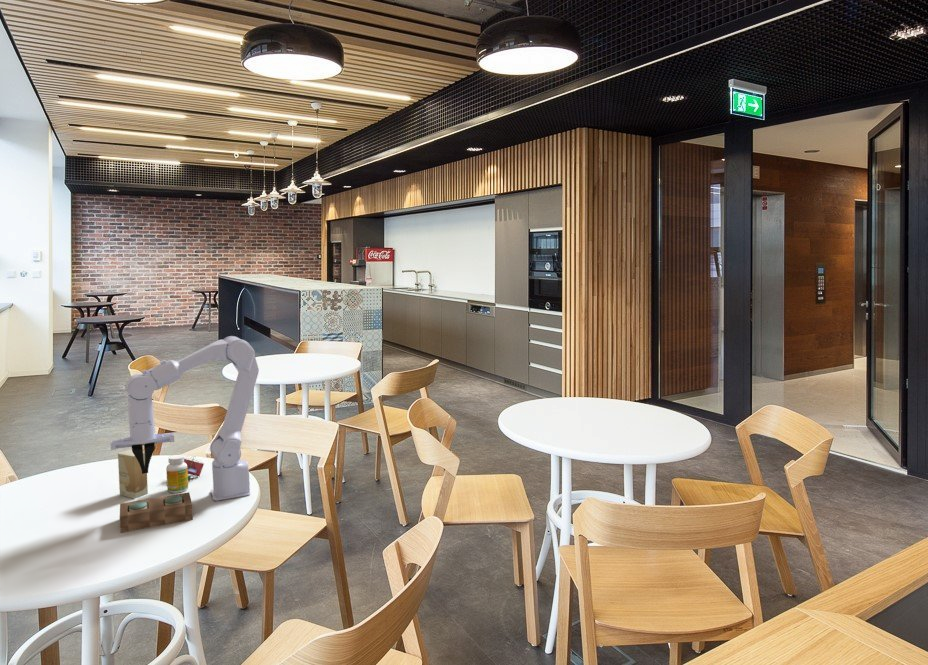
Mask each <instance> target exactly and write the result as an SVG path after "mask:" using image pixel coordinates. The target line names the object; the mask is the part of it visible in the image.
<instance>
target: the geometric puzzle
mask: <svg viewBox="0 0 928 665" xmlns="http://www.w3.org/2000/svg"><path fill="white" fill-rule="evenodd" d="M188 457H189V456H186V458H184V462H185V463H186V464H187V471H188V475H190V476H189V478H191V477H192V476H193V477H196V476H199V477H200V475H201V473H202V471H203V467H204V465H205V463H203V461H202V460H197V461H196V460H195V459H194V458H195V457H192V458H191V459H190V458H188ZM200 461H201V462H200Z"/></svg>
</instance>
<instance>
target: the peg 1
mask: <svg viewBox="0 0 928 665" xmlns="http://www.w3.org/2000/svg"><path fill="white" fill-rule="evenodd" d="M143 509H147V503H146V502H136V503H133V504H131V505H130V506H129V512H131V511H137V510H143Z"/></svg>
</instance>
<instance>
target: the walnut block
mask: <svg viewBox="0 0 928 665" xmlns="http://www.w3.org/2000/svg"><path fill="white" fill-rule="evenodd" d="M173 496H180V497H182V503H178V504H172V505H166V506H165V499H167V498H169V497H173ZM136 502H146V503H147V509H143V510H137V511H131V512H129V506H130V505H131V504H133V503H136ZM193 519H194V513H193V502H192V498H191V494H190V492H189V491H188V492H181V493H174V494H170V495H165V496H164V495H163V496H159V497H151V498H145V499H140V500H139V499H138V500H134V501H128V502H127V501H126V502H121V503H119V528H120V530H119V531H120V533H126V532H132V531H137V530H143V529H147V528H154V527H159V526H163V525H164V526H166V525H170V524H175V523H181V522H186V521H191V520H193Z"/></svg>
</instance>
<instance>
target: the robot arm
mask: <svg viewBox="0 0 928 665" xmlns="http://www.w3.org/2000/svg"><path fill="white" fill-rule="evenodd" d="M255 352H256V351H255V349H254V347H252V345H250V343H249V342H248V341H246V340H245V339H241V338H239V337H238V336H234V335H230V336H226V337H225V338H223V339H218V340H215V341H213V342H212V343H209V344H208V345H206V346H204V347H202V348H200V349H198V350H196V351H195V352H192V353H190V354H189V355H186V356H185V357H183V358H181V359H179V360H173V359H168V360H166V359H162V360H160V361H159V363H160V364H158V365H155V366H154V367H151V368H149V369H143V370H141V373H142V374H141V373H136V374H132V375H131V376H129V377H128V379H127V380H126V383H125V385H124V388H125V391H126V392H127V393H128V398H127V401H128V405H127V409H128V410H127V411H128V424H129V437H124V438H120V439H113V440H110V451H114V450H117V449H125V448H131V449H132V452H133V454H134V455H135V457H136V458H137V460H138V462H139V464H140V467H141V470H142V474H144V473H147V474H149V467H150V462H151V459H152V457H153V454H154V452H155V449H156V444H164V443H175V433H173V432H172V433H171V432H170V433H156V431H155V430H156V429H155V428H156V427H155V426H156V425H155V411H154V402H153V394H154V392H155V391H159V390H161V389H163V388H164V387H167V386H169V385H171V384H172V383H175V382H177V381H179V380H181V378H182V377H183V374H184V373H185V372H186V371H189V370H191V369H194V368H196V367H198V366H201V365H203V364H205V363H207V362H209V361H212V360H218V361H227V360H229V362H231V363H232V365H233V366H234V368H235V369H236V371H237V377H236V380H235V383H234V385H233V386H234V387H233V391H232V394H231V396H230V401H229V402H228V407H227V410H226V413H225V417H224V419H223V420H224V421H223V422H222V426H221V427H220V429H219V430H218V432H217V435H216V437H215V438H214V439H213V440H212V442H211V443H210V446H209V450H210V453H211V455H212V456H213V457H214V458H213V460H212V463H211V467H212V483H213V484H212V486H213V487H212V488H213V489H210V494H211V496H212V500H213V501H214V502H216V501H221V500H222V501H224V500H226V499H227V500H228V499H234V498H240V497H245V496H250V495H251V492H250V491H251V488H250V486H251V485H250V470H249V469H250V468H249V462H248V461H247V460H240V459H241V457H242V450H241V446H242V429H243V426H244V423H245V419H246V416H247V413H248V409H249V406H250V403H251V399H252V397H253V396H252V395H253V393H254V389H255V385H256V382H257V379H258V376H259V372H260V369H259V365H258V362H257V359H256V356H255ZM143 446H144V450H143ZM143 452H145V465H144V459H143Z"/></svg>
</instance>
